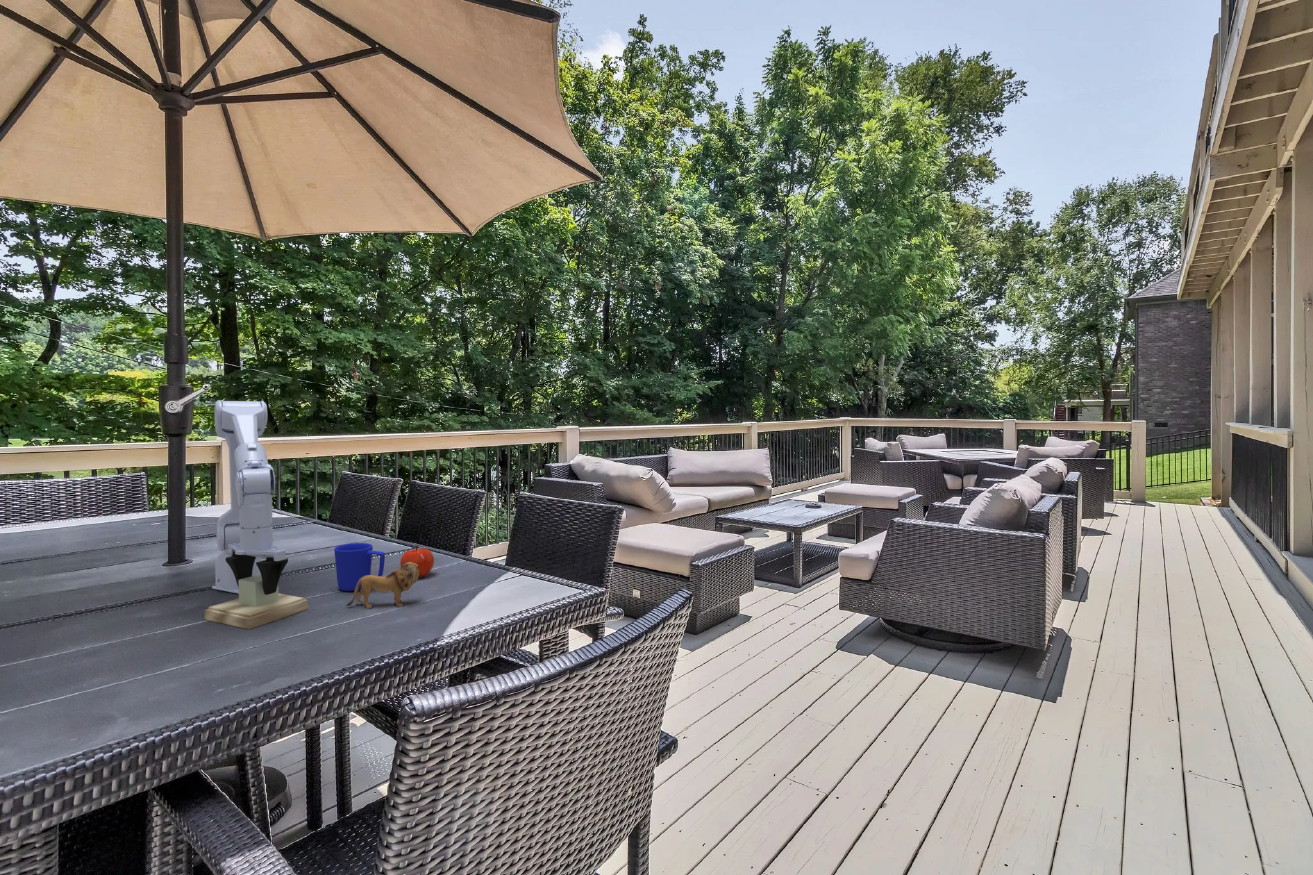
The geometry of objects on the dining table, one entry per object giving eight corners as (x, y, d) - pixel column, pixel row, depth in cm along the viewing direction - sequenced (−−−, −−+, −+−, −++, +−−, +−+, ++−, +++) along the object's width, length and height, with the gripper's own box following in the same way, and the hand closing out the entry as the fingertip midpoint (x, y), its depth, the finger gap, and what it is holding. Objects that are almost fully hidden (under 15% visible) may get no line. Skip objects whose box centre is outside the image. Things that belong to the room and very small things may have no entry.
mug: (372, 596, 145) (372, 553, 144) (326, 591, 147) (326, 549, 146) (394, 585, 153) (394, 545, 152) (350, 582, 155) (350, 541, 154)
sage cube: (239, 603, 130) (238, 579, 130) (262, 596, 135) (261, 573, 134) (255, 607, 128) (255, 582, 128) (278, 600, 133) (278, 576, 132)
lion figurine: (418, 597, 144) (418, 558, 144) (419, 604, 139) (419, 564, 139) (346, 604, 138) (346, 564, 138) (345, 612, 134) (345, 570, 133)
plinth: (204, 619, 128) (204, 607, 127) (265, 600, 140) (265, 589, 140) (248, 629, 123) (248, 616, 123) (308, 609, 135) (307, 597, 135)
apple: (438, 577, 161) (438, 546, 160) (406, 582, 156) (406, 550, 155) (427, 570, 167) (427, 540, 166) (395, 575, 162) (395, 544, 161)
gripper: (212, 526, 129) (214, 591, 130) (262, 533, 124) (263, 601, 125) (246, 520, 136) (247, 582, 136) (294, 526, 130) (295, 591, 131)
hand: (257, 590), depth 131 cm, fingers open, 7 cm apart
